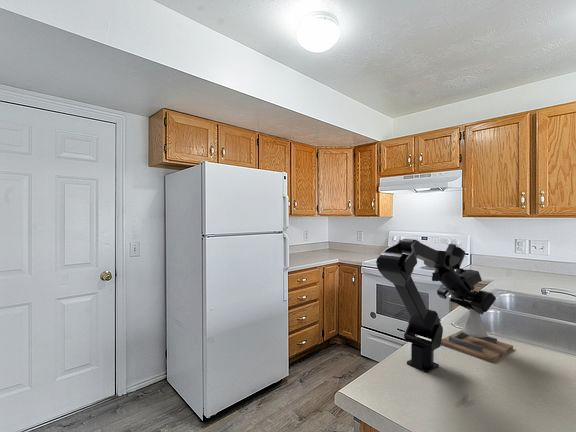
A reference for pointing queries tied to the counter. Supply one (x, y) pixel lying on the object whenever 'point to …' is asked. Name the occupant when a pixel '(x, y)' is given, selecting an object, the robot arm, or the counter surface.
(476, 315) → the flask
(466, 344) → the board
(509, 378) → the counter surface
